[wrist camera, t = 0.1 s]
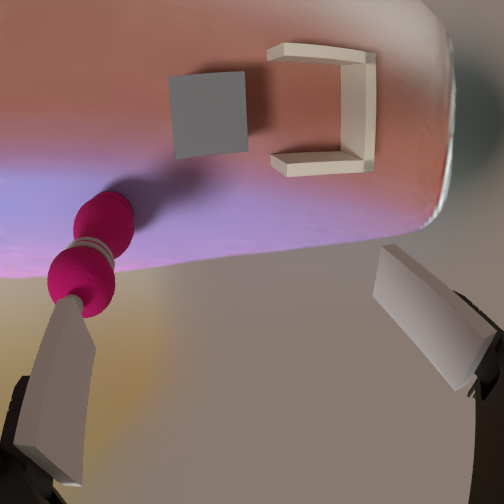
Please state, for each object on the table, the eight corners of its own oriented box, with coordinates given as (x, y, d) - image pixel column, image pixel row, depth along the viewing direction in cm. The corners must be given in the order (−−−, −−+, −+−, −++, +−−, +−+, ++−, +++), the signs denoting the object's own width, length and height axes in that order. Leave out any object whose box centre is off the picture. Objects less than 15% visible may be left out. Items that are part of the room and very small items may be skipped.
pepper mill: (140, 190, 36) (116, 275, 19) (134, 243, 39) (118, 353, 22) (84, 184, 34) (20, 264, 17) (82, 237, 37) (35, 343, 20)
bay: (266, 50, 32) (283, 42, 27) (349, 56, 34) (375, 53, 29) (270, 165, 39) (287, 177, 34) (349, 161, 41) (373, 171, 36)
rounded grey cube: (169, 81, 31) (168, 77, 26) (232, 76, 33) (244, 71, 27) (174, 149, 35) (175, 159, 30) (235, 142, 37) (248, 151, 31)
